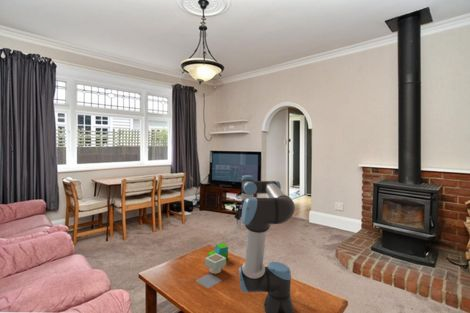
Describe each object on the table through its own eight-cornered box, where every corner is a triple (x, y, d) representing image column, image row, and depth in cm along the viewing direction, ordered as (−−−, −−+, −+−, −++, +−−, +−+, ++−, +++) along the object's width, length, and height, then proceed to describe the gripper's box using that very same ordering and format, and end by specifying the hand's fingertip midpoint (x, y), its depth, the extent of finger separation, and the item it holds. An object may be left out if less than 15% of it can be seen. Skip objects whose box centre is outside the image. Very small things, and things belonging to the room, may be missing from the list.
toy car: (206, 258, 186) (206, 245, 186) (223, 255, 192) (223, 242, 191) (211, 264, 177) (211, 250, 177) (228, 261, 183) (228, 247, 182)
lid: (226, 265, 168) (226, 257, 168) (215, 270, 161) (215, 262, 161) (216, 260, 175) (216, 252, 175) (204, 265, 168) (204, 257, 167)
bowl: (223, 270, 169) (223, 265, 168) (215, 275, 163) (215, 269, 163) (215, 266, 174) (215, 261, 173) (207, 270, 168) (207, 265, 168)
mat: (222, 280, 157) (222, 280, 157) (207, 288, 148) (207, 288, 148) (209, 273, 165) (209, 273, 165) (195, 281, 156) (195, 280, 156)
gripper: (266, 201, 155) (266, 235, 157) (237, 195, 172) (236, 225, 174) (259, 203, 150) (258, 238, 151) (229, 197, 167) (229, 228, 168)
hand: (246, 231), depth 162 cm, fingers open, 13 cm apart
